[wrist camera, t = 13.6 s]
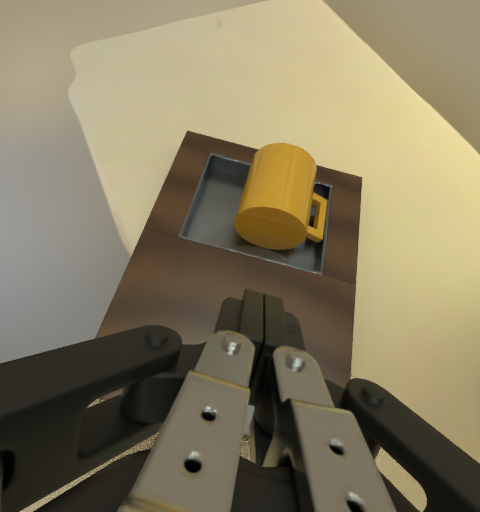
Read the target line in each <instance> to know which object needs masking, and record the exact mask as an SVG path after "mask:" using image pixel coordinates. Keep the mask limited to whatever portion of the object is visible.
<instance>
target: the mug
mask: <svg viewBox="0 0 480 512" xmlns="http://www.w3.org/2000/svg"><path fill="white" fill-rule="evenodd" d="M316 174H317V167H316V163H315V161H314V159H313V158H312V157H311V155H310V154H309V153H307V152H306V151H305V150H303V149H302V148H300V147H297V146H295V145H291V144H286V143H275V144H270V145H267V146H264V147H262V148H261V149H259V150H258V151H257V152H256V153H255V154H254V156H253V158H252V161H251V164H250V168H249V171H248V174H247V178H246V181H245V185H244V188H243V192H242V195H241V198H240V202H239V205H238V209H237V212H236V215H235V219H234V226H235V229H236V231H237V232H238V234H239V235H240V236H241V237H242V238H244V239H245V240H247V241H248V242H250V243H252V244H254V245H256V246H259V247H263V248H267V249H273V250H285V249H291V248H294V247H297V246H299V245H300V244H302V243H303V242H304V241H305V239H306V237H307V238H309V239H311V240H313V241H315V242H317V243H318V242H320V241H321V240H323V234H324V226H325V218H326V210H327V202H328V200H326V199H324V198H323V197H321V196H319V195H317V194H316V193H314V187H315V180H316ZM312 205H314V206H316V212H315V218H314V225H313V227H311V226H309V219H310V212H311V206H312Z"/></svg>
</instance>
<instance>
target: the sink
mask: <svg viewBox="0 0 480 512" xmlns="http://www.w3.org/2000/svg"><path fill="white" fill-rule="evenodd" d="M250 164H251V163H247V162H243V161H240V160H236V159H232V158H228V157H225V156H221V155H217V154H213V153H209V156H208V158H207V161H206V164H205V166H204V169H203V172H202V174H201V177H200V180H199V182H198V185H197V188H196V190H195V193H194V195H193V198H192V201H191V203H190V206H189V209H188V211H187V214H186V217H185V219H184V222H183V225H182V227H181V230H180V233H179V235H178V237H179V238H183V239H187V240H191V241H194V242H198V243H202V244H206V245H209V246H213V247H217V248H221V249H225V250H228V251H232V252H236V253H240V254H244V255H247V256H251V257H255V258H259V259H262V260H266V261H270V262H274V263H278V264H281V265H285V266H289V267H293V268H297V269H300V270H304V271H308V272H312V273H315V274H319V275H323V266H324V257H325V249H326V240H327V231H328V222H329V214H330V205H331V196H332V187H333V185H330V184H326V183H322V182H318V181H315V187H314V193H316V194H317V195H319V196H321V197H323V198H324V199H326V200H328V202H327V210H326V218H325V226H324V234H323V240H321V241H320V242H318V243H317V242H315V241H313V240H311V239H309V238H307V237H306V239H305V241H304V242H303V243H302V244H300V245H299V246H297V247H294V248H291V249H285V250H273V249H267V248H263V247H259V246H256V245H254V244H252V243H250V242H248V241H247V240H245V239H244V238H242V237H241V236H240V235H239V234H238V232H237V231H236V229H235V226H234V219H235V215H236V212H237V209H238V205H239V202H240V198H241V195H242V192H243V188H244V185H245V181H246V178H247V174H248V171H249V168H250ZM315 212H316V206H314V205H312V206H311V212H310V219H309V226H311V227H313V225H314V218H315Z"/></svg>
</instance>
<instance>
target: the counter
mask: <svg viewBox="0 0 480 512" xmlns="http://www.w3.org/2000/svg"><path fill="white" fill-rule="evenodd" d="M257 151H258V149H254V148H250V147H247V146H243V145H239V144H235V143H232V142H228V141H224V140H220V139H217V138H213V137H209V136H205V135H202V134H198V133H194V132H190V131H187V132H186V134H185V137H184V139H183V141H182V144H181V146H180V148H179V150H178V153H177V155H176V157H175V159H174V162H173V164H172V166H171V168H170V171H169V173H168V175H167V177H166V180H165V182H164V184H163V186H162V189H161V191H160V193H159V195H158V198H157V200H156V202H155V204H154V207H153V209H152V211H151V213H150V216H149V218H148V220H147V223H146V225H145V227H144V229H143V232H142V234H141V236H140V238H139V241H138V243H137V245H136V247H135V250H134V252H133V254H132V256H131V259H130V261H129V263H128V265H127V268H126V270H125V272H124V274H123V277H122V279H121V281H120V283H119V286H118V288H117V290H116V293H115V295H114V297H113V299H112V301H111V304H110V306H109V308H108V311H107V313H106V315H105V317H104V320H103V322H102V324H101V327H100V329H99V331H98V333H97V335H96V338H99V337H103V336H107V335H111V334H115V333H118V332H122V331H126V330H130V329H134V328H137V327H141V326H145V325H161V326H165V327H168V328H171V329H173V330H174V331H176V332H177V333H178V334H179V335H180V336H181V338H182V344H187V345H195V344H202V343H205V342H207V341H208V339H209V337H210V335H211V334H212V333H214V329H215V326H216V323H217V319H218V316H219V312H220V309H221V305H222V302H223V301H224V300H225V299H227V298H228V297H232V298H236V299H240V300H242V298H243V294H244V291H245V289H249V290H253V291H257V292H261V293H263V295H264V294H269V295H272V296H276V297H280V298H282V299H283V305H284V311H286V312H290V313H293V314H294V315H295V317H296V318H297V319H298V320H299V322H300V326H301V331H302V336H303V340H304V344H305V349H306V352H307V353H308V354H310V355H311V356H312V357H313V358H314V359H315V360H316V361H317V363H318V365H319V367H320V370H321V373H322V375H323V377H324V378H325V379H327V380H329V381H331V382H333V383H335V384H337V385H339V386H341V387H344V388H346V385H347V383H348V381H349V380H350V376H351V359H352V342H353V325H354V308H355V290H356V273H357V255H358V238H359V221H360V204H361V188H362V177H359V176H355V175H351V174H347V173H344V172H340V171H336V170H333V169H329V168H325V167H321V166H318V165H316V167H317V174H316V180H315V181H318V182H322V183H326V184H330V185H333V187H332V196H331V205H330V214H329V222H328V231H327V240H326V249H325V257H324V266H323V275H319V274H315V273H312V272H308V271H304V270H300V269H297V268H293V267H289V266H285V265H281V264H278V263H274V262H270V261H266V260H262V259H259V258H255V257H251V256H247V255H244V254H240V253H236V252H232V251H228V250H225V249H221V248H217V247H213V246H209V245H206V244H202V243H198V242H194V241H191V240H187V239H183V238H179V237H178V235H179V233H180V230H181V227H182V225H183V222H184V219H185V217H186V214H187V211H188V209H189V206H190V203H191V201H192V198H193V195H194V193H195V190H196V188H197V185H198V182H199V180H200V177H201V174H202V172H203V169H204V166H205V164H206V161H207V158H208V156H209V153H213V154H217V155H221V156H225V157H228V158H232V159H236V160H240V161H243V162H247V163H251V161H252V158H253V156H254V154H255V153H256V152H257ZM96 338H95V339H96ZM122 389H123V388H122ZM122 389H119V390H117V391H114V392H112V393H109V394H107V395H104V396H102V397H100V398H101V399H104V400H108V399H110V398H113V397H115V396H118V395H120V394H122ZM253 413H254V406H251V405H248V409H247V415H246V421H245V427H244V433H243V435H244V436H247V437H250V430H249V427H250V422H251V419H252V416H253Z"/></svg>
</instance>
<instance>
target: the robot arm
mask: <svg viewBox="0 0 480 512" xmlns="http://www.w3.org/2000/svg"><path fill="white" fill-rule="evenodd" d="M122 388H123V389H122ZM119 389H122V394H120V395H118V396H115V397H113V398H110V399H108V400H106V401H103V402H101V403H99V404H96V405H94V406H91V407H89V408H87V407H88V406H89V405H90V404H91V403H92V402H93V401H94V400H96V399H98V398H100V397H102V396H104V395H107V394H109V393H112V392H114V391H117V390H119ZM248 405H251V406H254V413H253V416H252V419H251V422H250V427H249V430H250V456H251V461H249V460H247V459H245V458H243V457H241V456H240V451H241V445H242V439H243V433H244V427H245V421H246V415H247V409H248ZM86 408H87V409H86ZM160 429H161V430H160ZM159 430H160V432H159V434H158V436H157V439H156V441H155V443H154V445H153V447H152V449H148V450H143V451H139V452H136V453H133V454H130V455H127V456H125V457H123V458H120V459H118V460H116V461H114V462H113V463H111V464H109V465H107V466H106V467H104V468H103V469H101V470H99V471H98V472H96V473H95V474H93V475H91V476H90V477H88V478H87V479H85V480H83V481H82V482H80V483H78V484H77V485H75V486H74V487H72V488H70V489H69V490H67V491H66V492H64V493H62V494H61V495H59V496H58V497H56V498H54V499H53V500H51V501H50V502H48V503H46V504H45V505H43V506H41V507H40V508H38V509H37V510H35V511H33V512H420V511H419V510H417V509H416V508H415V507H414V506H413V505H412V504H411V503H410V502H409V501H408V500H407V499H406V498H405V497H404V496H403V495H402V494H401V493H400V492H399V491H398V490H397V489H396V487H395V486H394V485H393V484H392V483H391V482H390V481H389V480H388V479H387V478H386V477H385V476H384V475H383V474H382V473H381V472H380V471H379V470H378V468H377V466H376V464H375V461H374V460H375V458H376V456H377V454H378V452H379V450H380V448H381V447H382V448H383V449H384V450H385V451H386V452H387V453H388V454H389V455H390V456H391V457H392V458H393V459H395V460H396V461H397V462H398V463H399V464H400V465H401V466H402V467H403V468H404V469H405V470H406V471H407V472H408V473H409V474H410V475H411V476H412V477H414V478H415V479H416V480H417V481H418V482H419V484H420V485H421V486H422V488H423V489H424V492H425V494H426V497H427V506H426V508H425V510H424V511H423V512H480V464H479V463H478V462H477V461H475V460H474V459H473V458H472V457H470V456H469V455H468V454H467V453H465V452H464V451H463V450H461V449H460V448H459V447H458V446H456V445H455V444H454V443H453V442H451V441H450V440H449V439H447V438H446V437H445V436H444V435H442V434H441V433H440V432H439V431H437V430H436V429H435V428H433V427H432V426H431V425H430V424H428V423H427V422H426V421H425V420H423V419H422V418H421V417H420V416H418V415H417V414H416V413H414V412H413V411H412V410H411V409H409V408H408V407H407V406H406V405H404V404H403V403H402V402H400V401H399V400H398V399H397V398H395V397H394V396H393V395H392V394H390V393H389V392H388V391H386V390H385V389H384V388H382V387H381V386H379V385H377V384H375V383H373V382H371V381H368V380H365V379H360V378H354V379H351V380H349V381H348V383H347V385H346V388H344V387H341V386H339V385H337V384H335V383H333V382H331V381H329V380H327V379H325V378H324V377H323V375H322V373H321V370H320V367H319V365H318V363H317V361H316V360H315V359H314V358H313V357H312V356H311V355H310V354H308V353H307V352H306V349H305V344H304V340H303V336H302V331H301V326H300V322H299V320H298V319H297V318H296V317H295V315H294V314H293V313H290V312H286V311H284V305H283V299H282V298H280V297H276V296H272V295H269V294H264V295H263V293H261V292H257V291H253V290H249V289H245V291H244V294H243V298H242V300H240V299H236V298H232V297H228V298H227V299H225V300H224V301H223V302H222V305H221V309H220V312H219V316H218V319H217V323H216V326H215V329H214V333H212V334H211V335H210V337H209V339H208V341H207V342H205V343H202V344H195V345H187V344H182V338H181V336H180V335H179V334H178V333H177V332H176V331H174V330H173V329H171V328H168V327H165V326H161V325H145V326H141V327H137V328H134V329H130V330H126V331H122V332H118V333H115V334H111V335H107V336H103V337H99V338H96V339H92V340H88V341H84V342H80V343H77V344H73V345H69V346H65V347H62V348H58V349H54V350H50V351H47V352H43V353H39V354H35V355H31V356H27V357H24V358H20V359H16V360H12V361H8V362H5V363H1V364H0V512H19V511H21V510H23V509H24V508H26V507H28V506H30V505H31V504H33V503H35V502H37V501H38V500H40V499H42V498H44V497H45V496H47V495H49V494H51V493H52V492H54V491H56V490H58V489H59V488H61V487H63V486H65V485H67V484H68V483H70V482H72V481H74V480H75V479H77V478H79V477H81V476H82V475H84V474H86V473H88V472H89V471H91V470H93V469H95V468H96V467H98V466H100V465H102V464H103V463H105V462H107V461H109V460H110V459H112V458H114V457H116V456H117V455H119V454H121V453H123V452H124V451H126V450H128V449H130V448H131V447H133V446H135V445H137V444H138V443H140V442H142V441H144V440H145V439H147V438H149V437H151V436H153V435H154V434H156V433H157V432H158V431H159Z"/></svg>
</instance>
